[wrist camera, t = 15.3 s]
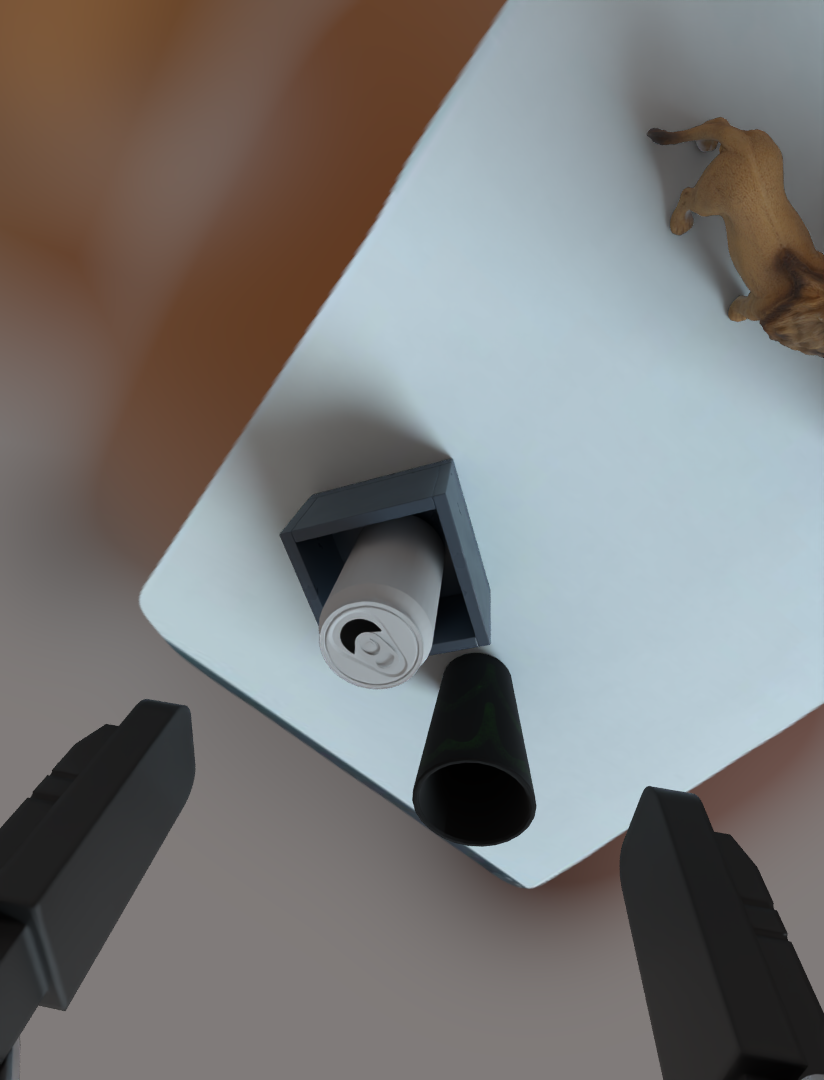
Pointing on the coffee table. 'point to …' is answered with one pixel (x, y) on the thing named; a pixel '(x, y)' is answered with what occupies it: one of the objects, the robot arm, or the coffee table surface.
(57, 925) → the robot arm
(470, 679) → the cup
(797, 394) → the coffee table surface
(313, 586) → the open box
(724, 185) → the lion figurine
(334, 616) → the beverage can
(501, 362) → the coffee table surface
